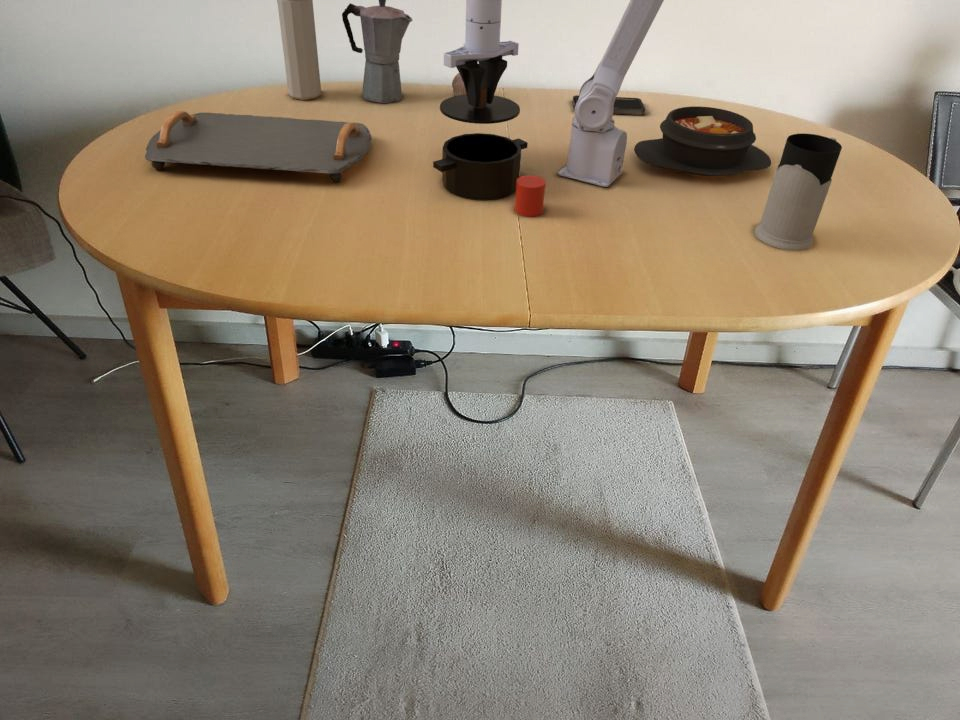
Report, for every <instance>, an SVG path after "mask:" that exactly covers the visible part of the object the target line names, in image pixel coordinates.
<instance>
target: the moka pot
mask: <svg viewBox="0 0 960 720" xmlns="http://www.w3.org/2000/svg"><path fill="white" fill-rule="evenodd" d="M386 3H387V0H378V5H372V6H368V7H367V6H362V5H355V4H353V3H348V5H347V6H346V8H345V9H344V11H343V12H342V13H341V18H342V23H343V25H344V29H345V31H346V34H347V38H348V42H349V43H350V48H351V51H353V52H355V53H357V54H362V53H363V52H364V57H365V64H364V71H363V82H362V91H361V97H362V98H364V99H365V100H366V101H369V102H372V103H378V104H391V103H396V102H399V101H400V100H401V99H402V98H403V92H402V82H401V73H400V53H401V50H402V42H403V38H404V37H405V35H406V33H407V30H408V27H409V26H410V23H411V22H413V18H412V17H411V16H410V15H409V14H407V13H405V11H404V10H403V9H399V8H395V7H393V6H389V5H386ZM350 14H353V15H354V16H356V17H359V18H360V25H361V34H362V42H363V48H362V47H358V46H357V43H356V41H355V39H354V34H353V30H352V27H351V23H350V20H349V17H348V16H349V15H350Z"/></svg>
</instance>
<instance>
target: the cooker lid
mask: <svg viewBox="0 0 960 720" xmlns="http://www.w3.org/2000/svg"><path fill="white" fill-rule="evenodd" d="M487 92H488V88H487V87H486V86H482V85H481V90H480V102H479V107H474V106H471V105H469V104H468V99H467V94H464V95H457V96H456V95H454V96H450V97H447V98H445V99H443V100H442V101H441V102H440V104H439V111H440V113H441V114H442V115H443V116H445V117H447V118H449V119H451V120H453V121H458V122H462V123H467V124H476V125H492V124H493V125H494V124H501V123H504V122H505V123H506V122H509V121H512V120H514V119H516V118H517V117H518V116H519V115H520V113H521V107H520V105H519V104H518V103H517V102H516V101H514V100H512V99H510V98H506V97H503V96H499V95H495V94H494V97H493V101H492V104H488V103H487Z"/></svg>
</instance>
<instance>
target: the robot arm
mask: <svg viewBox="0 0 960 720" xmlns="http://www.w3.org/2000/svg"><path fill="white" fill-rule="evenodd" d="M664 1H665V0H629V3H628V5H627V6H626V8H625V11H624V13H623V14H622V17H621V19H620V21H619V23H618V25H617V27H616V30H615V31H614V33H613V35H612V38H611V40H610V41H609V44H608V46H607V48H606V49H605V52H604V54H603V56H602V59H601V60H600V62H599V63H598V64H597V67H596V69H595V70H594V72H593V74H592V75H591V76H590V77H589V78H588V79H587V80H585V81H584V82H583V84H582V85H581V87H580V89H579V93H578V95H579V99H578V101H577V103H576V106H575V110H574V116H573V117H572V120H571V128H570V137H569V145H568V153H567V154H568V155H567V162H566V165H565V166H564V167H562V168H561V169H560V170H559V171H558V172H557V175H558V176H559V177H564V178H568V179H572V180H576V181H580V182H584V183H588V184H591V185H596V186H599V187H603V188H608V187H609V186H610V185H611V184H612V183H614V182H615V180H617V179H618V178H619V177H620V176H621V175H622V174H623V173H624V170H623V167H624V161H625V154H626V149H627V143H628V142H627V140H628V133H627V131H625V130H623V129H620V128H618V127H617V126H615V120H614V119H613V117H614V114H613V106H614V102H615V99H616V97H618V94H619V92H620V89H621V87H622V84H623V83H624V79H625V77H626V75H627V73H628V71H629V69H630V67H631V66H632V63H633V61H634V60H635V57H636V56H637V54H638V52H639V50H640V48H641V46H642V44H643V42H644V40H645V38H646V36H647V34H648V32H649V31H650V28H651V26H652V24H653V22H654V21H655V18H656V17H657V14H658V13H659V11H660V9H661V7H662V5H663V4H664ZM502 5H503V0H465V36H464V38H465V40H464V43H463V46H461V47H458V48H456V49H453V50H451V51H447V52H444V53H443V66H445V67H447V68H450V69H454V68H456V70H457V71H458V73H460V75H461V78H462V80H463V83H464V86H465V90H466V94H467V99H468V104H469V105H471V106H474V107H479V102H480V90H481V85H482V86H486V87H487V88H488V92H487V103H488V104H492V101H493V97H494V95H495V94H496V90H497V87H498V84H499V82H500V80H501V78H502V76H503V74H504V72H505V71H506V70H507V68H508V60H506V59H504V58H503V57H507V56H508V57H509V56H513V57H514V56H518V55H519V45H520V43H518V42H516V41H513V40H507V41H501V28H502V27H501V26H502V25H501V23H502Z"/></svg>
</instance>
